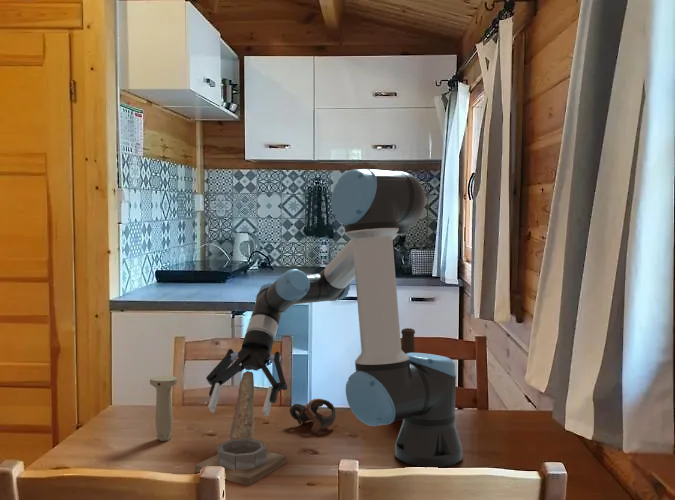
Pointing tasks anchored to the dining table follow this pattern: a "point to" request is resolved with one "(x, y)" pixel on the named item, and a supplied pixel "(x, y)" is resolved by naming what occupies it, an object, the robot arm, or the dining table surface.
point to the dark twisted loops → (313, 414)
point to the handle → (163, 405)
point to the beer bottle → (408, 340)
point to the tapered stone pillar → (244, 409)
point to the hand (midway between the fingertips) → (237, 412)
